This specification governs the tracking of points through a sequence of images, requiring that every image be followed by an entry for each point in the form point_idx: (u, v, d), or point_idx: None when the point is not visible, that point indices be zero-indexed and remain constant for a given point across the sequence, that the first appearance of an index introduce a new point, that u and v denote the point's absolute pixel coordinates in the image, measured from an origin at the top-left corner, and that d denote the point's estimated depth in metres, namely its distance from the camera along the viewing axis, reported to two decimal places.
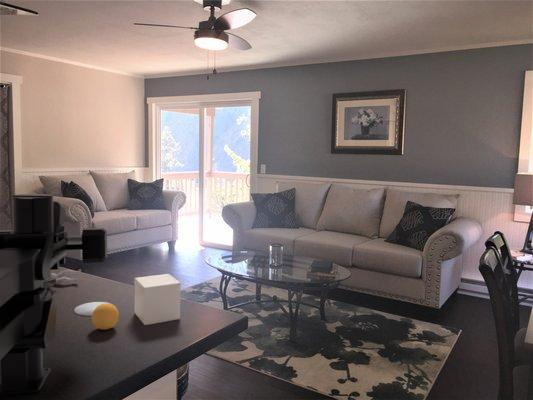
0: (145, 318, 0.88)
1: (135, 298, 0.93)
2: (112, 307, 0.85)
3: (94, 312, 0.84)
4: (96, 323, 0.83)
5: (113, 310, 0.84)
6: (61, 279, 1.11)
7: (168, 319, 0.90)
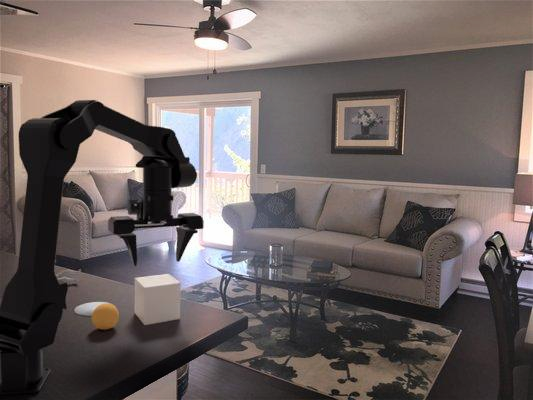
0: (145, 318, 0.88)
1: (135, 298, 0.93)
2: (112, 307, 0.85)
3: (94, 312, 0.84)
4: (96, 323, 0.83)
5: (113, 310, 0.84)
6: (61, 279, 1.11)
7: (168, 319, 0.90)
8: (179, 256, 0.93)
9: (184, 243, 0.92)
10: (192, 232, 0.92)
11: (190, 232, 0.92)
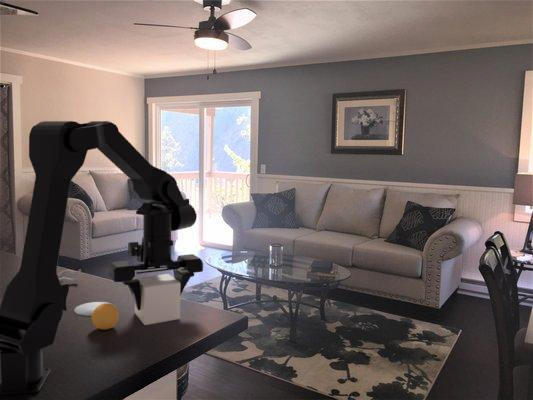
0: (145, 318, 0.88)
1: None
2: (112, 307, 0.85)
3: (94, 312, 0.84)
4: (96, 323, 0.83)
5: (113, 310, 0.84)
6: (61, 279, 1.11)
7: (168, 319, 0.90)
8: None
9: (181, 286, 0.93)
10: (189, 276, 0.93)
11: (187, 276, 0.92)
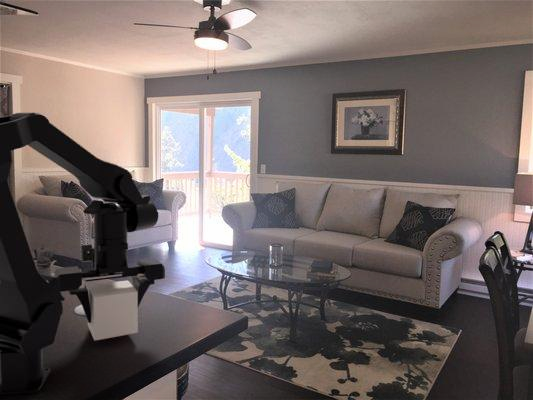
0: (95, 332, 0.76)
1: None
2: None
3: None
4: None
5: None
6: None
7: (123, 333, 0.79)
8: None
9: (139, 296, 0.81)
10: (148, 283, 0.81)
11: (145, 284, 0.81)
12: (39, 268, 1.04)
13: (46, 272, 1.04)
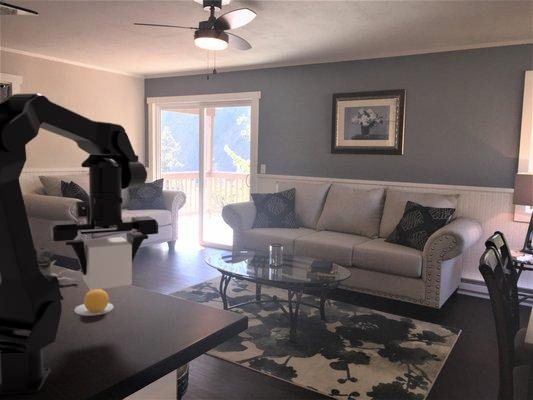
0: (90, 282, 0.79)
1: None
2: None
3: (86, 308, 0.92)
4: None
5: None
6: (61, 279, 1.11)
7: (118, 284, 0.81)
8: None
9: (133, 250, 0.84)
10: (142, 238, 0.84)
11: (139, 238, 0.83)
12: (39, 268, 1.04)
13: (46, 272, 1.04)
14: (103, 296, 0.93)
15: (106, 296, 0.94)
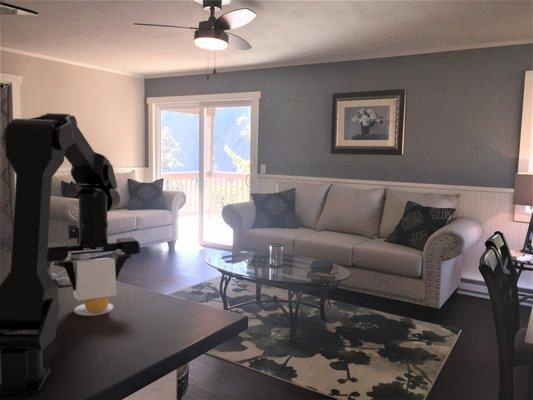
0: (79, 293, 0.89)
1: None
2: (102, 310, 0.94)
3: (86, 308, 0.92)
4: None
5: None
6: (61, 279, 1.11)
7: (104, 295, 0.92)
8: None
9: (117, 268, 0.95)
10: (125, 257, 0.95)
11: (123, 257, 0.95)
12: None
13: None
14: (103, 297, 0.92)
15: (106, 297, 0.93)
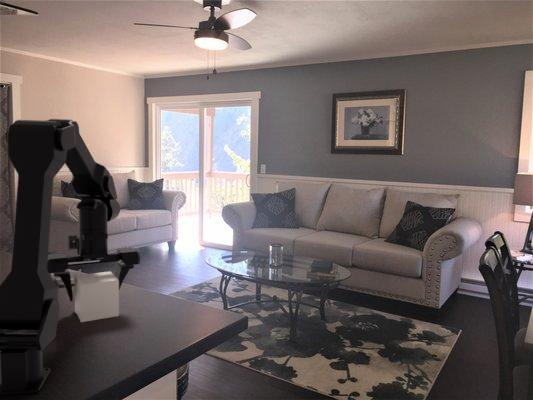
0: (81, 315, 0.88)
1: (75, 295, 0.94)
2: None
3: None
4: None
5: None
6: None
7: (106, 316, 0.91)
8: None
9: (120, 278, 0.96)
10: (128, 268, 0.96)
11: (126, 268, 0.95)
12: None
13: None
14: None
15: None
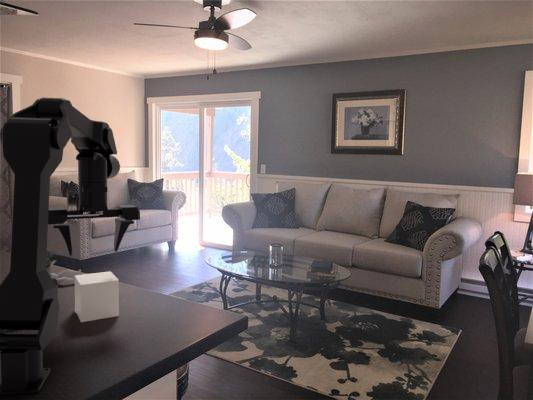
0: (81, 315, 0.88)
1: (75, 295, 0.94)
2: None
3: None
4: None
5: None
6: (61, 279, 1.11)
7: (106, 316, 0.91)
8: (116, 246, 0.96)
9: (120, 233, 0.95)
10: (128, 223, 0.95)
11: (126, 223, 0.94)
12: None
13: None
14: None
15: None
